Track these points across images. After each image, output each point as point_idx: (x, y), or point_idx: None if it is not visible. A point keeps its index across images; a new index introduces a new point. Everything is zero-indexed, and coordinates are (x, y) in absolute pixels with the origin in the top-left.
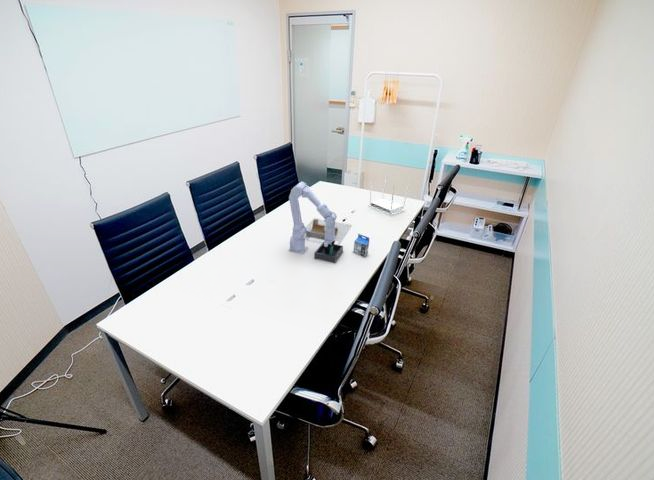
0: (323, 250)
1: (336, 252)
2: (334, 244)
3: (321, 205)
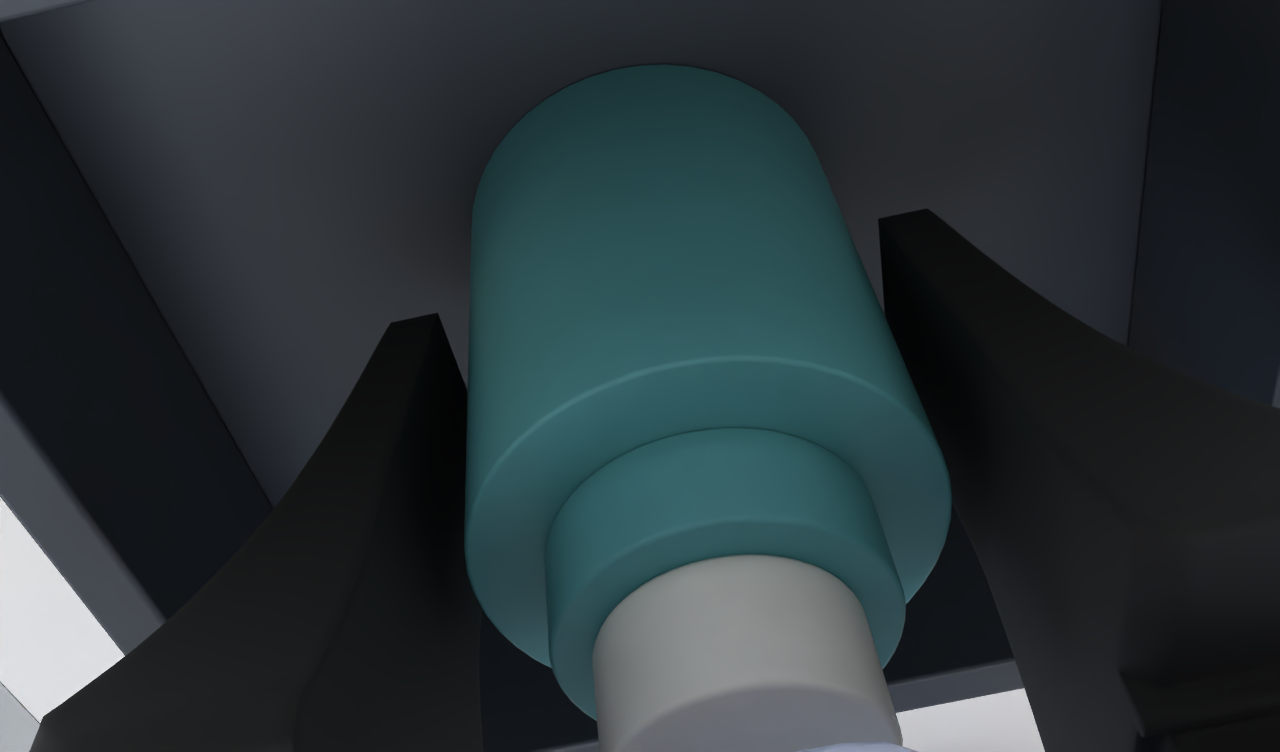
0: None
1: (223, 70)
2: (28, 480)
3: None
